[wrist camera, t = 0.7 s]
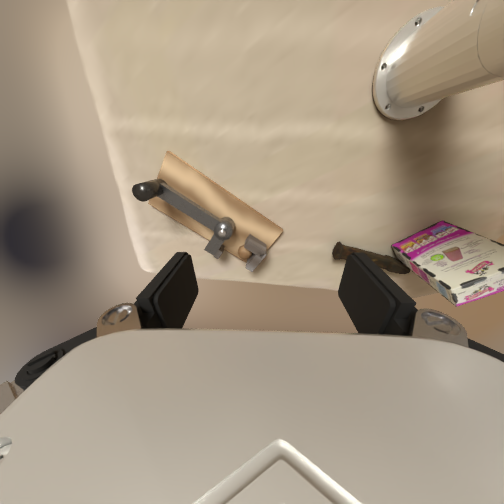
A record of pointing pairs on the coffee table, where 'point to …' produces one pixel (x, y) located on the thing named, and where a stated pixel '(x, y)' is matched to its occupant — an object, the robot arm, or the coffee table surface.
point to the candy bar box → (454, 262)
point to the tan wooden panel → (216, 210)
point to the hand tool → (379, 260)
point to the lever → (188, 212)
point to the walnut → (244, 252)
